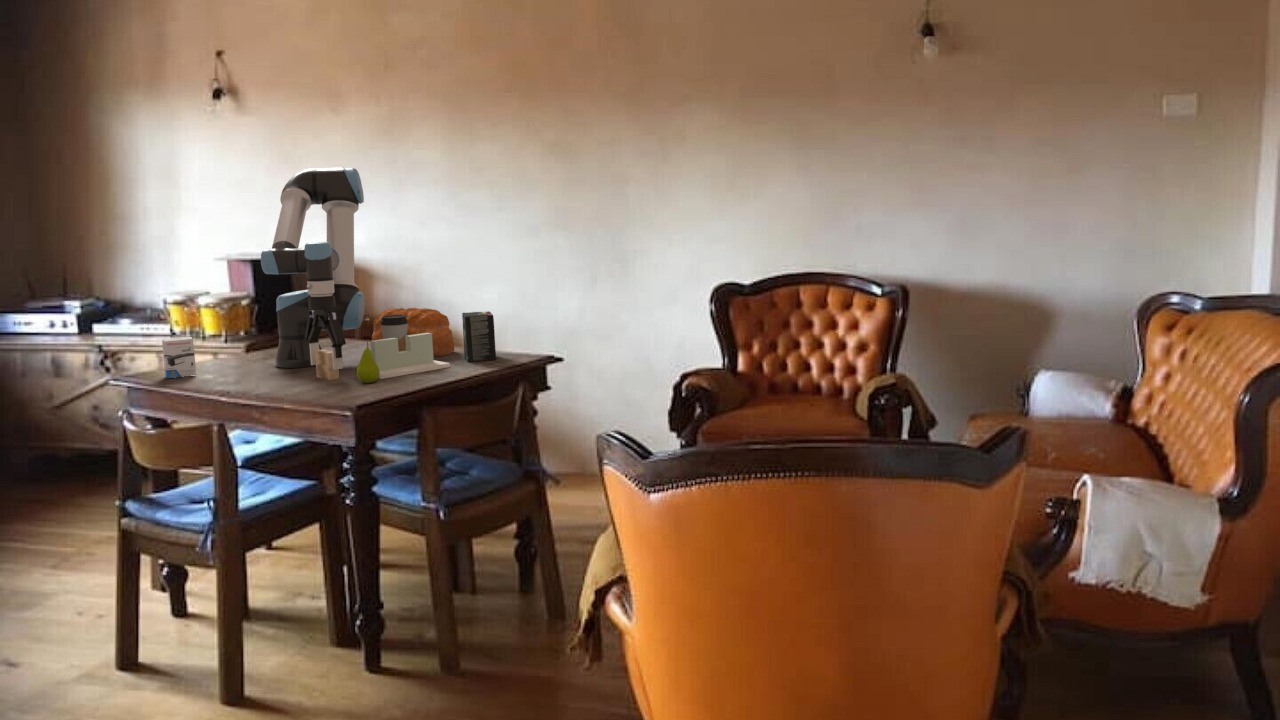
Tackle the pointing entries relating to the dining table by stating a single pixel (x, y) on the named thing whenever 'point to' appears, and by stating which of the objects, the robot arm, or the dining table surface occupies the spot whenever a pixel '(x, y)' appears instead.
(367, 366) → the fruit
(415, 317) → the bread
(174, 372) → the ink box
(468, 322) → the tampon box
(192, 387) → the dining table surface
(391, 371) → the slotted board
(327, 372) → the wooden block
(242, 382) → the dining table surface
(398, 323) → the coffee cup
